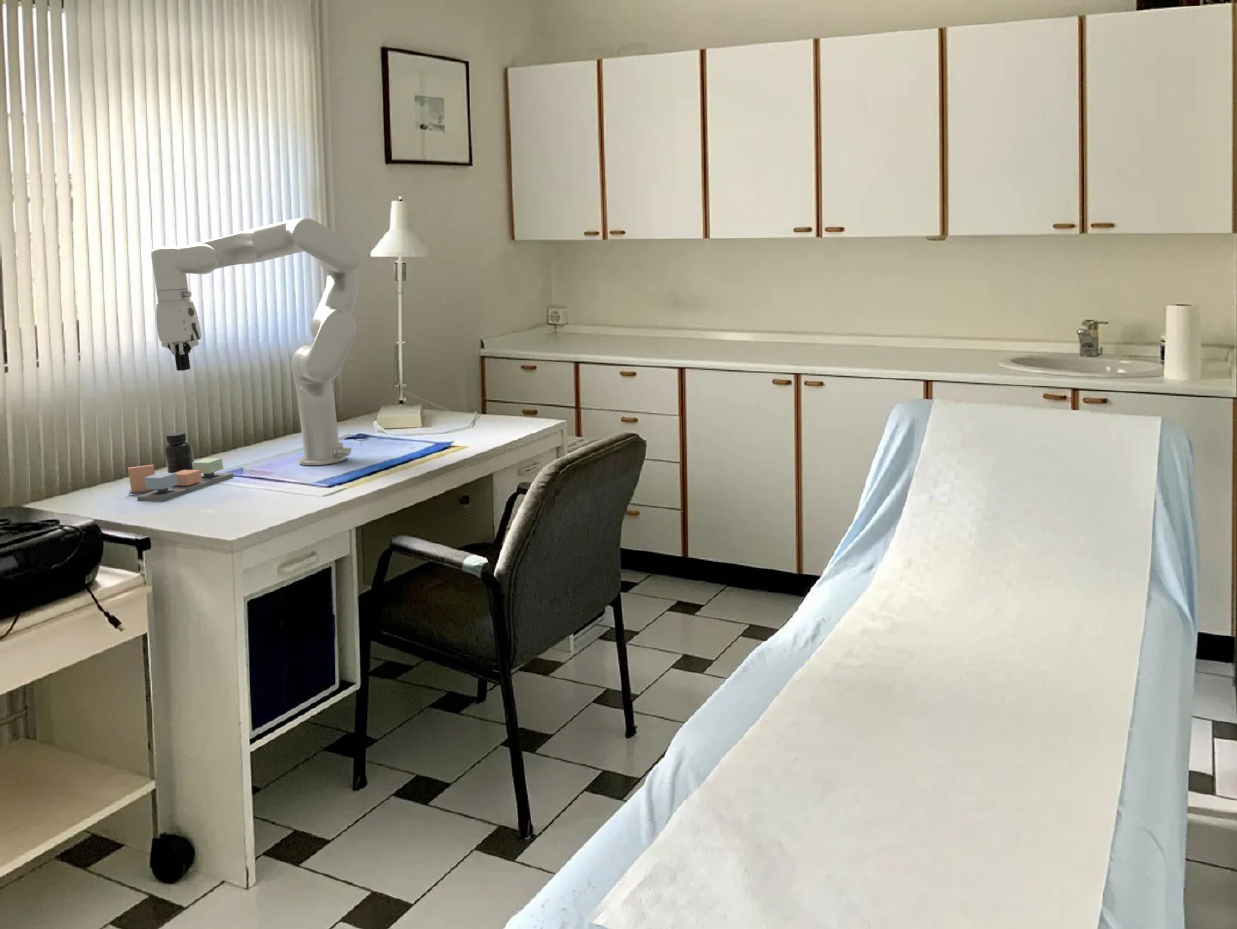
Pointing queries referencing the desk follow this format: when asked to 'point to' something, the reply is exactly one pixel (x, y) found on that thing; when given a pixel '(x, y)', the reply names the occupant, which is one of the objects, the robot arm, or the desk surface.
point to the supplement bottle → (178, 453)
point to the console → (184, 488)
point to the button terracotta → (188, 477)
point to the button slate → (161, 481)
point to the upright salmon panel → (140, 478)
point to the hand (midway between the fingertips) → (183, 369)
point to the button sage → (208, 466)
